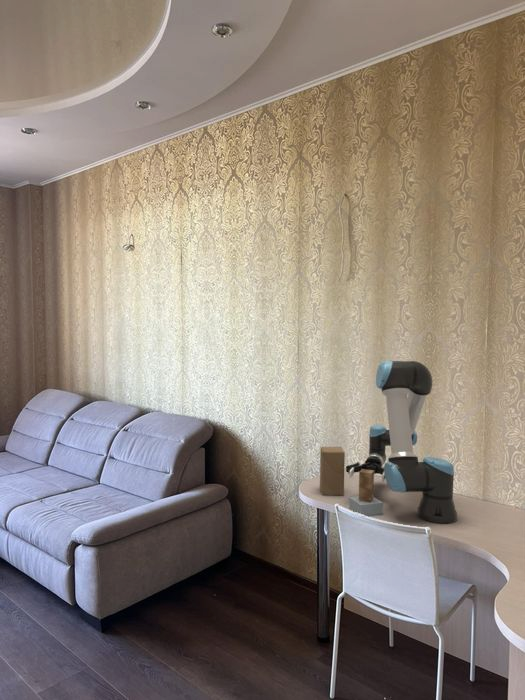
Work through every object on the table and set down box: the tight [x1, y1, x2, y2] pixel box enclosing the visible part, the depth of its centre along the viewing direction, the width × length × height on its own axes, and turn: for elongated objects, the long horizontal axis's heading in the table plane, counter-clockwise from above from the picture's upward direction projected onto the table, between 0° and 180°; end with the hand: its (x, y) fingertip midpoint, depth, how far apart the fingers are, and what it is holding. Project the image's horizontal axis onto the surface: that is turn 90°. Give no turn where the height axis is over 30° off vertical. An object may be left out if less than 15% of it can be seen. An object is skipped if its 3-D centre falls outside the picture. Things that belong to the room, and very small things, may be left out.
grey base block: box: [348, 495, 384, 517], centre depth 210 cm, size 10×10×5 cm
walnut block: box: [358, 469, 375, 503], centre depth 210 cm, size 5×5×12 cm
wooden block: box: [319, 446, 346, 496], centre depth 233 cm, size 10×10×20 cm
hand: (366, 476), depth 212 cm, fingers open, 13 cm apart
